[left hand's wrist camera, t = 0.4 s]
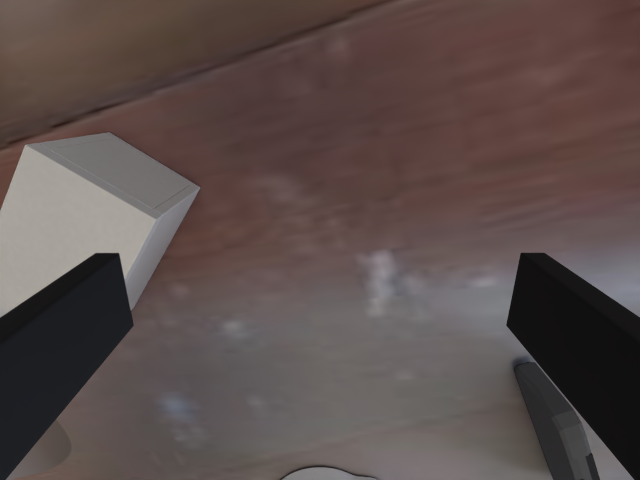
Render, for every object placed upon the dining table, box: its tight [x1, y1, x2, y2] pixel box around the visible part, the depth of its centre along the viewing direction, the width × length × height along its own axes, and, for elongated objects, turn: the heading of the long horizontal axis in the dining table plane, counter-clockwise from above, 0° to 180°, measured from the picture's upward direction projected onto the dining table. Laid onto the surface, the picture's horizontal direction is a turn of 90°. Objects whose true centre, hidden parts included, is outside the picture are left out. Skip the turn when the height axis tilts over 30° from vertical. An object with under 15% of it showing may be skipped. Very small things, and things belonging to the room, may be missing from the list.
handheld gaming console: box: [514, 362, 600, 480], centre depth 45 cm, size 23×3×10 cm, turn 25°
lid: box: [0, 143, 162, 317], centre depth 27 cm, size 18×10×9 cm, turn 147°
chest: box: [38, 132, 200, 310], centre depth 36 cm, size 17×10×10 cm, turn 147°
